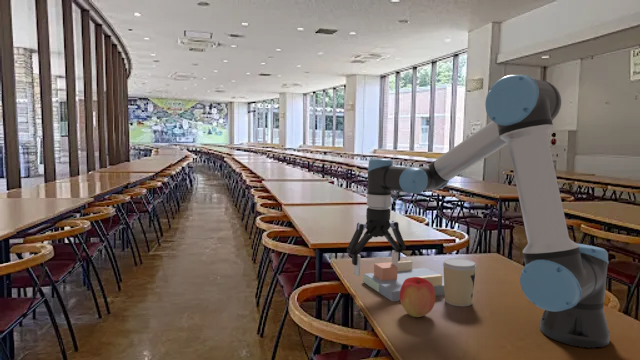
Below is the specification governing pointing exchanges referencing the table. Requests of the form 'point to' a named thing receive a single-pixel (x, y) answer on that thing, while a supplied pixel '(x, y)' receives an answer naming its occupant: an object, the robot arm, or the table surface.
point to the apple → (417, 296)
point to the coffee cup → (459, 281)
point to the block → (385, 271)
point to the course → (404, 271)
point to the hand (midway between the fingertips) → (375, 273)
